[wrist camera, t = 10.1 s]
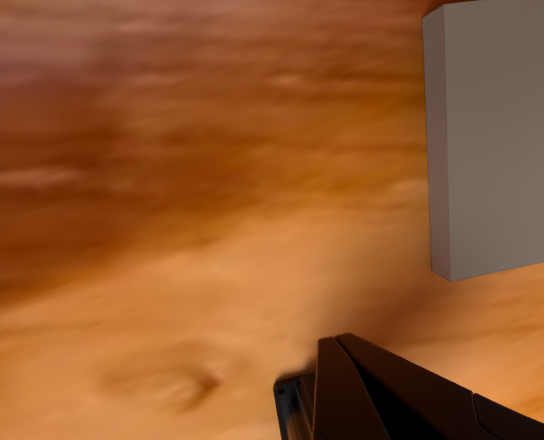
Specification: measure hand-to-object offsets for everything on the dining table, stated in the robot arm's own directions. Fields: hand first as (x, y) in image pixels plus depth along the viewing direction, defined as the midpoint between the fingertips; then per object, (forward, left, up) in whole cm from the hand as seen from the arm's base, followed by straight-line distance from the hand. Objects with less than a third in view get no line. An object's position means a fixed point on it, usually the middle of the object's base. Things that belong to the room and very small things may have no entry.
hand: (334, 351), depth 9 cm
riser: (+3, -17, -13) cm, 22 cm away
